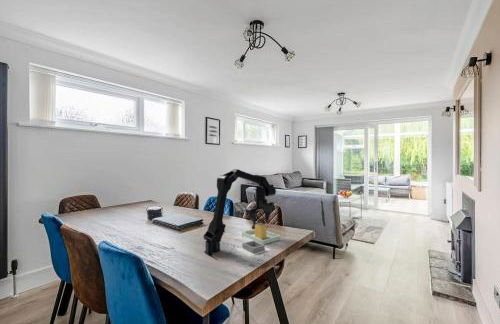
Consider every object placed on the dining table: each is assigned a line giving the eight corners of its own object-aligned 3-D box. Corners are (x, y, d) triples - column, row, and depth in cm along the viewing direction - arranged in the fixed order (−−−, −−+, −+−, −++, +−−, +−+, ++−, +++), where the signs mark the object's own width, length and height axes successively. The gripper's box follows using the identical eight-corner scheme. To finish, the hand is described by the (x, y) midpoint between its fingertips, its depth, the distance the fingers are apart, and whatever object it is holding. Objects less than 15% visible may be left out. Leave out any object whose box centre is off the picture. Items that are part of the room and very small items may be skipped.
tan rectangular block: (261, 239, 146) (261, 226, 146) (254, 237, 151) (254, 223, 151) (266, 238, 148) (266, 225, 148) (260, 235, 153) (260, 222, 153)
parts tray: (262, 246, 137) (262, 240, 137) (241, 236, 154) (241, 231, 154) (280, 241, 145) (280, 235, 145) (259, 232, 162) (259, 227, 162)
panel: (249, 258, 121) (249, 250, 121) (235, 250, 131) (235, 244, 131) (271, 251, 130) (271, 244, 129) (257, 244, 139) (257, 238, 139)
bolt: (252, 233, 166) (260, 227, 180) (258, 230, 164) (266, 224, 178) (248, 225, 167) (256, 219, 180) (254, 222, 165) (262, 216, 179)
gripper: (256, 200, 137) (256, 229, 138) (281, 197, 148) (281, 223, 148) (244, 198, 146) (244, 224, 147) (269, 195, 157) (269, 219, 158)
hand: (260, 223), depth 150 cm, fingers open, 9 cm apart
